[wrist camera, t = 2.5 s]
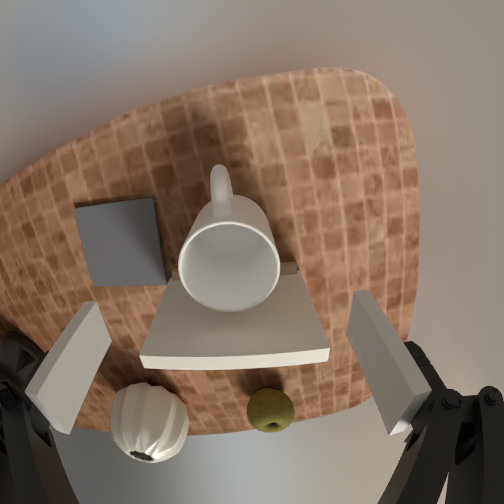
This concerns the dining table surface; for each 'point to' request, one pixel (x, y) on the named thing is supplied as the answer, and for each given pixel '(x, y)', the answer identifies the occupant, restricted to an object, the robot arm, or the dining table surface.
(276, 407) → the apple
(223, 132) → the dining table surface
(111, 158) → the dining table surface
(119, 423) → the vase
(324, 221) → the dining table surface
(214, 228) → the mug
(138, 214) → the pad
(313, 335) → the screen
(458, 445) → the robot arm
